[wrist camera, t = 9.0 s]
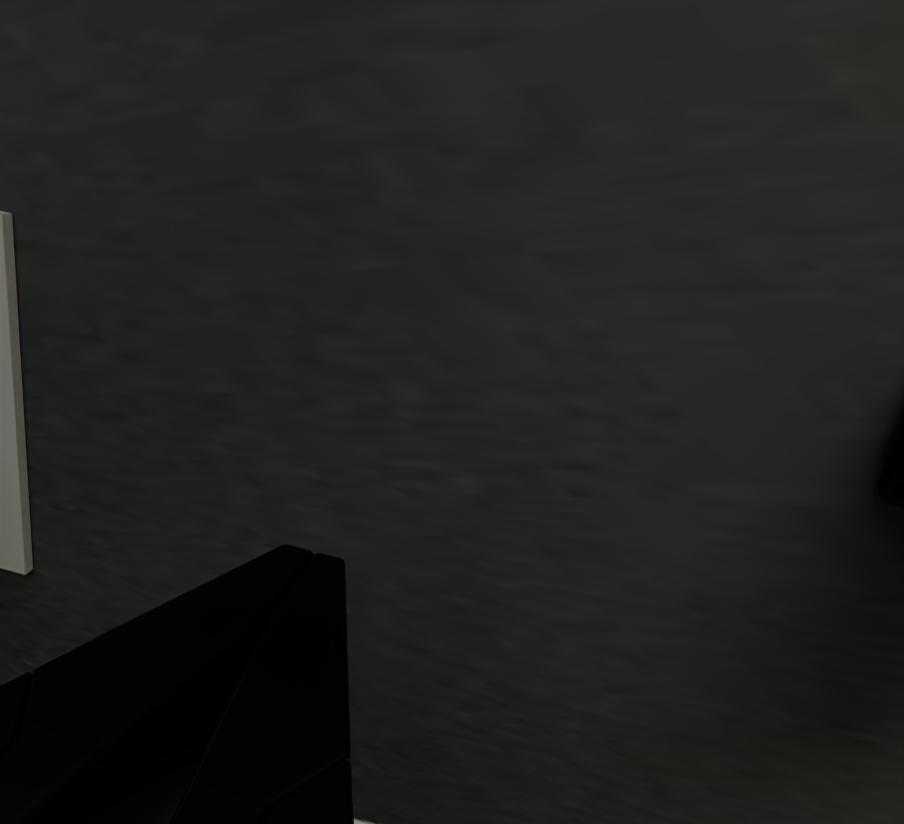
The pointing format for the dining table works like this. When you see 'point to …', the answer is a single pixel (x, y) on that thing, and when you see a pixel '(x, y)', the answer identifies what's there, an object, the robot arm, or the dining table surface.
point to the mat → (12, 419)
